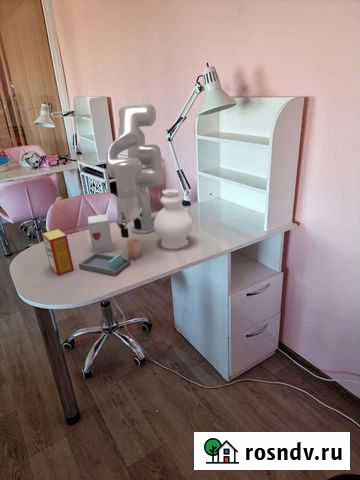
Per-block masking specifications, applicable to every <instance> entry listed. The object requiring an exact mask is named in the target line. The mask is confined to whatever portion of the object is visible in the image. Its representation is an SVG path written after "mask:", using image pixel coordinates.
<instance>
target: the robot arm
mask: <svg viewBox="0 0 360 480" xmlns="http://www.w3.org/2000/svg"><path fill="white" fill-rule="evenodd" d="M156 111H157V110H156V108H155V106H154V105H153V104H136V105H125V106H122V107H120V109H118V117H119V121H118V122H119V127H118V137H117V138H115V139H114V141H113V142H112V143H111V144H110V145H109V147H108V149H107V153H106V160H105V163H106V165H105V166H106V167H105V168H106V172H107V175H108V176H109V177H111V178H115V182H116V193H117V200H116V213H117V214H116V215H117V218H116V220H115V223H116V224H117V227H118V228H119V229H120V235H121V237H122V238H125V239H128V238H129V237H130V236H129V229H128V224H129V223H131V222H133V223H132V224H133V225H132V226H131V227H130V231H131V232H132V233H134V234H139V235H140V234H141V235H142V234H149V233H152V232H155V231H154V220H155V218H156V216H152V209H151V199H150V198H151V196H150V195H149V192H148V191H147V190H146V189H147V188H158V187H161V185H163V166H162V165H163V163H162V153H161V152H162V151H161V148H160V147H159V146H158V144H152V143H151V144H146V136H145V134H144V132H143V131H142V129H140V128H141V127H152V126H153V125H154V123H156V120H157V112H156ZM126 150H127V157H119V158H117V156H118V155H119V154H121V153H122V152H124V151H126ZM144 166H147V167H144ZM148 166H149V167H148ZM145 188H146V189H145Z"/></svg>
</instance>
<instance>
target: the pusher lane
mask: <svg viewBox="0 0 360 480" xmlns="http://www.w3.org/2000/svg"><path fill="white" fill-rule="evenodd" d="M114 257H116V256H115V255H110V254H104V253H92V254H91V255H89V256H88V257H86V258H85V259H84V260H82V261H80V262H79V263H78V268H79V270H84V271H87V272H88V271H89V272H91V273H92V272H93V273H97V274H102V275H106V276H111V277H116V276H118V275H119V274H120V273H122V272H123V271H124V270H125V269H127V268H128V267H129V266H130V265H131V259H129V258H126V257H125V258H124V257H123V262H124V263H123V264H122V265H120V266H119V267H118V268H117V269H115V270H112V269H109V265H108V262H109V261H110V260H111V259H113V258H114Z"/></svg>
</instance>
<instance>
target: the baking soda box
mask: <svg viewBox="0 0 360 480" xmlns="http://www.w3.org/2000/svg"><path fill="white" fill-rule="evenodd" d="M41 235H42V238H43V243H44V246H45V247H44V248H45V250H46V256H47V261H48V264H49V268H50V269H51V270H52V272H54V273H55V274H56V275H57V276H58V277H59V276H62V275H65V274H68V273H71V272H73V271H75V268H74V265H73V260H72V259H73V258H72V255H71V249H70V246H69V241H68V237H67V235H66V234H65V233H64V232H63V231H61V230H60V229H59V228H57V229H52V230H49V231H47V232H46V231H45V232H42V233H41Z"/></svg>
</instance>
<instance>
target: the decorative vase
mask: <svg viewBox="0 0 360 480" xmlns="http://www.w3.org/2000/svg"><path fill="white" fill-rule="evenodd" d="M179 193H180V189H178V188H167V189H166V188H165V189H163V190H161V194H163V195H162V197H160V203H161V205H163V207H162V208H161V209H160V210H159V212H158V213H157V215H156V216H155V220H154V221H153V224H154V231H153V232H154V233H155V234H156V235H157V236H158V237H159V238H160V239H161V242H160V246H161V247H162V248H164V249H168V250H173V249H174V250H178V249H182V248H184V247H186V246H187V245H188V244H189V240H188V239H187V237H188V236H189V235H190V233H191V232H192V231H193V227H194V224H193V219H192V217H191V215H190V214H189V213H188V211H186V209H184V208H183V207H182V206H181V203H183V197H182V196H181V195H180V194H179Z"/></svg>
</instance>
